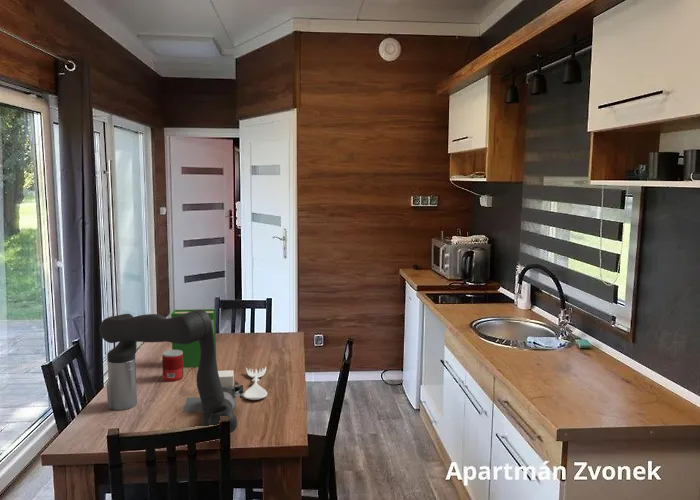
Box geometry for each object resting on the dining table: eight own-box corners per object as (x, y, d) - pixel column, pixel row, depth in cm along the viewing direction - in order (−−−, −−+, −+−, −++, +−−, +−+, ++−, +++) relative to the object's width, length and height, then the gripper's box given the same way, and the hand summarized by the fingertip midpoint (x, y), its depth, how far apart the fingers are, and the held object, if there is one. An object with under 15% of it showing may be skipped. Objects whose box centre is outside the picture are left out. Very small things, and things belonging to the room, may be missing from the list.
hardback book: (216, 361, 246) (215, 309, 243) (214, 366, 239) (213, 313, 235) (175, 362, 243) (174, 309, 240) (172, 368, 236) (171, 313, 233)
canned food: (187, 378, 224) (186, 352, 223) (169, 383, 219) (168, 356, 217) (177, 373, 230) (176, 348, 228) (159, 378, 224) (158, 352, 222)
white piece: (266, 373, 232) (266, 365, 232) (267, 403, 201) (267, 394, 201) (245, 374, 231) (245, 366, 230) (242, 404, 200) (242, 395, 199)
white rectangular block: (215, 406, 196) (214, 377, 195) (216, 399, 202) (215, 371, 201) (233, 405, 197) (233, 376, 196) (234, 398, 203) (233, 370, 202)
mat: (183, 413, 191) (182, 404, 190) (187, 398, 204) (187, 390, 203) (235, 410, 194) (235, 401, 194) (236, 396, 207) (236, 387, 206)
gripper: (243, 390, 186) (244, 373, 202) (200, 393, 183) (204, 375, 199) (244, 411, 187) (244, 393, 203) (200, 414, 184) (205, 395, 200)
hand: (224, 384), depth 201 cm, fingers open, 7 cm apart
